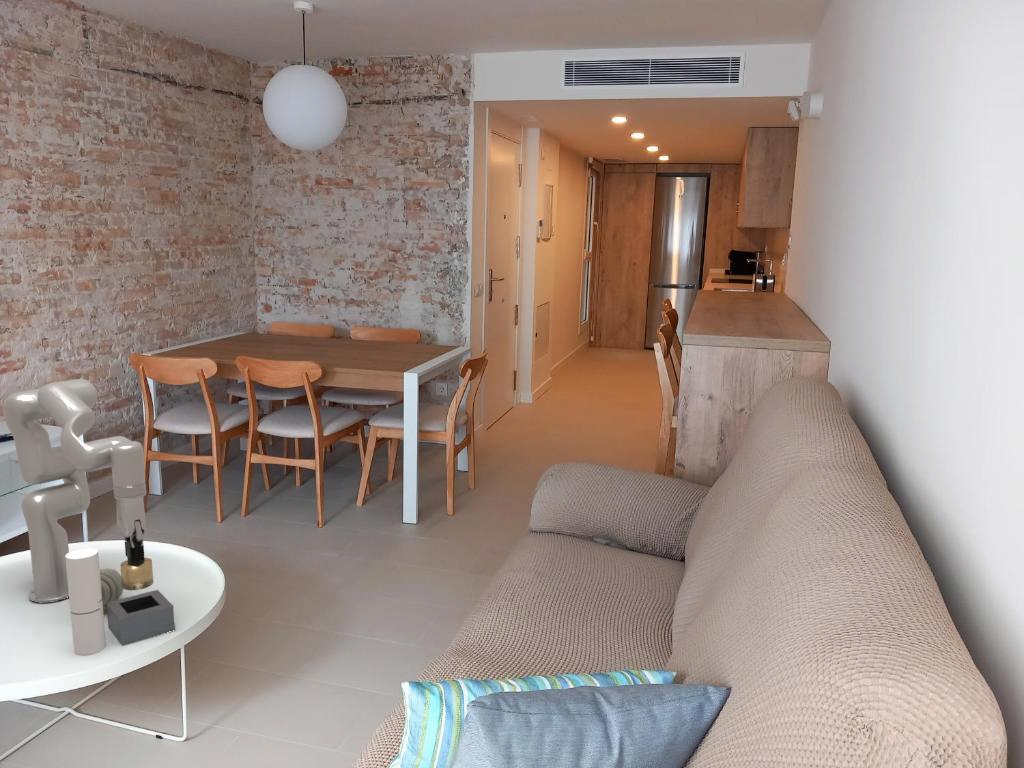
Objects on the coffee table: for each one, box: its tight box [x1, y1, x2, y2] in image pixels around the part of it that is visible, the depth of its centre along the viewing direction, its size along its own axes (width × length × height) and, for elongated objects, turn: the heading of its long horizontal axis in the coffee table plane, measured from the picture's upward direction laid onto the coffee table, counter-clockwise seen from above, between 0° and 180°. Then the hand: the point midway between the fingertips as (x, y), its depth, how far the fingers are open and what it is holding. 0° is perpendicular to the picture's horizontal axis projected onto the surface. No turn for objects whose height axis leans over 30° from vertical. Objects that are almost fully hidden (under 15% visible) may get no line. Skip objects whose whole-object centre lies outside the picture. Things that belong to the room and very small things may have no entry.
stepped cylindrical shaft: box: [120, 538, 154, 591], centre depth 213 cm, size 7×7×12 cm
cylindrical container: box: [65, 547, 107, 656], centre depth 204 cm, size 7×7×25 cm
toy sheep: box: [100, 567, 124, 616], centre depth 228 cm, size 11×17×11 cm, turn 4°
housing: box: [106, 589, 176, 647], centre depth 216 cm, size 13×13×7 cm
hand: (135, 557), depth 213 cm, fingers closed on stepped cylindrical shaft, 4 cm apart
